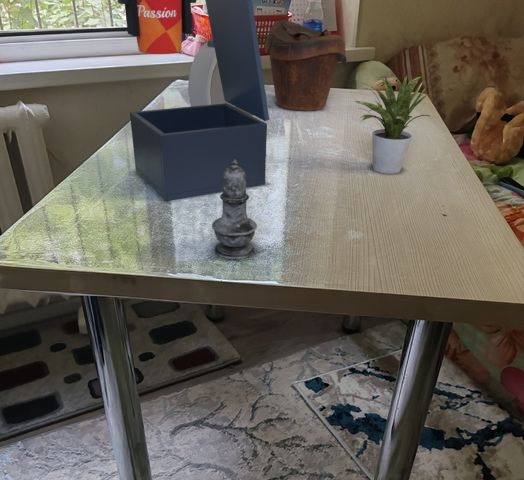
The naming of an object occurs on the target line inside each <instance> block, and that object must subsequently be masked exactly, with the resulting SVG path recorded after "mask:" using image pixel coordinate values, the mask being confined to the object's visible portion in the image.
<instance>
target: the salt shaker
mask: <svg viewBox="0 0 524 480" xmlns="http://www.w3.org/2000/svg"><path fill="white" fill-rule="evenodd" d="M232 164H233V165H232V166H231V167H228V168H226V169H225V170H224V172H223V191H222V193H221V194H219V198H220V200H221V201H222V213H221V217H218V218H217V219H214V220H213V222H212V223H211V228H212V230H213V231H214V232H213V233H214V235H215V237H216V240H217V241H219V243H218V244H216V246H215V247H214V253H215V254H216V255H217V256H219V257H220V258H223V259H226V260H243V259H247V258H250V257H251V256H253V254H254V253H255V247H254V246H253V245H252V244H251V243H250V242H251V241H252V240H253V238H254V236H255V233H256V230H257V229H258V224H257V222H256V221H255V220H254V219H252V218H250V217H248V213H247V201H248V200H249V198H250V196H249V194H248V193H247V188H246V172H245V170H244V169H242V168H241V167H238V166H237V165H236V164H237V162H236V160H235V159H234V160H233V162H232Z"/></svg>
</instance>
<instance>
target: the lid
mask: <svg viewBox="0 0 524 480" xmlns="http://www.w3.org/2000/svg"><path fill="white" fill-rule="evenodd" d="M204 2H205V6H206V12H207V17H208V21H209V27H210V31H211V32H210V33H211V37H212V38H213V43H214V48H215V53H216V58H217V63H218V68H219V74H220V79H221V84H222V89H223V94H224V99H225V101H226V102H228V103H230V104H232V105H234V106H236V107H238V108H240V109H242V110H244V111H246V112H248V113H250V114H252V116H253V117H255V118H257V119H259V120H261V121H263V122H268V121H270V114H269V107H268V102H267V101H268V99H267V94H266V87H265V81H264V80H265V79H264V73H263V67H262V59H261V52H260V46H259V38H258V33H257V32H258V31H257V25H256V24H257V23H256V18H255V12H254V3H253V0H204Z"/></svg>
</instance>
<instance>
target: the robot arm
mask: <svg viewBox="0 0 524 480" xmlns="http://www.w3.org/2000/svg"><path fill="white" fill-rule="evenodd" d="M117 3H118V4H121V5H124V11H125V20H126V29H127V34H128V35H130V36H131V37H132V36H133V37H136V36H140V31H139V20H138V9H137V0H117ZM192 4H197V0H181V8H182V34H185V35H193V22H192V21H193V19H192Z"/></svg>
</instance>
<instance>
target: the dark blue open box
mask: <svg viewBox="0 0 524 480" xmlns="http://www.w3.org/2000/svg"><path fill="white" fill-rule="evenodd" d="M129 121H130V126H131V127H130V129H131V139H132V146H133V147H132V148H133V157H134V165H135V172H136V173H137V174H138V175H139V176H140V177H141V178H142V179H143V180H144V181H145V182H147V184H148V185H149V186H150V187H151V188H152V189H154V191H155V192H156V193H157V194H159V196H160V197H162V198H163V199H164V200H165V202H168V201H174V200H180V199H185V198H191V197H197V196H205V195H210V194H217V193H221V192H222V193H223V172H224V170H225V169H226V168H228V167H231V166H232V165H233V164H232V162H233V160H234V159H235V160H236V162H237V164H236V165H237V166H238V167H241V168H242V169H244V170H245V172H246V189H247V188H251V187H252V188H253V187H258V186H264V185H266V165H267V162H266V161H267V136H268V135H267V134H268V123H266V122H265V121H264V120H262V119H260V118H258V117H256V116H254V115H252V116H251V115H249V114H247V113H245V112H243V111H241V110H239V109H237V108H235V107H233V106H231V105H229V104H227V103H223V104H212V105H201V106H191V105H190V106H181V107H171V108H159V109H149V110H137V111H130V112H129Z"/></svg>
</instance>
